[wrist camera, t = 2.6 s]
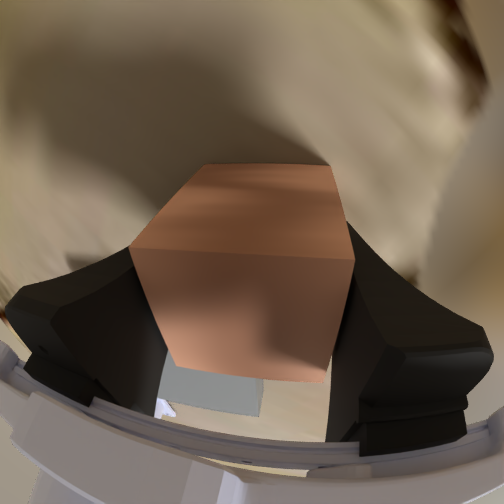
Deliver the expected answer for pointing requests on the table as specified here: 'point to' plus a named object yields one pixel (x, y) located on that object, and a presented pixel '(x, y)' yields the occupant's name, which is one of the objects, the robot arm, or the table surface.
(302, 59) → the table surface
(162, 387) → the gray plinth
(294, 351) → the terracotta cube
